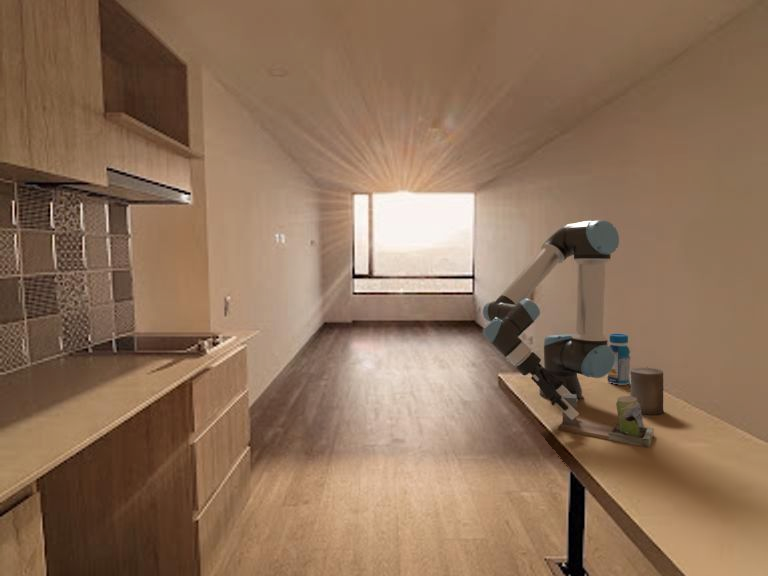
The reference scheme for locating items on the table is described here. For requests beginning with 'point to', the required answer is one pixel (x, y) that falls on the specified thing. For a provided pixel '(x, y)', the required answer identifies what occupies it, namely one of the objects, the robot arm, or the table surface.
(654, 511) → the table surface
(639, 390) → the pillar candle
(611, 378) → the beverage bottle
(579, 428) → the pull strip
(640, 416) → the beverage can
